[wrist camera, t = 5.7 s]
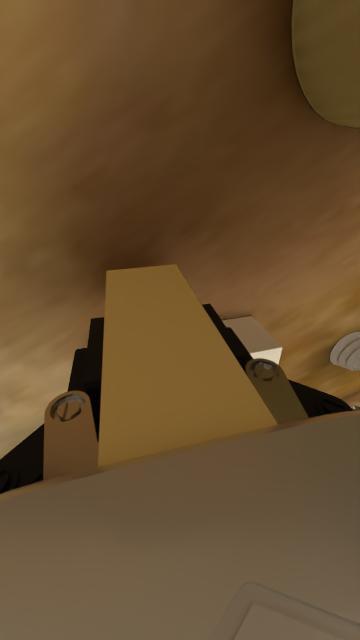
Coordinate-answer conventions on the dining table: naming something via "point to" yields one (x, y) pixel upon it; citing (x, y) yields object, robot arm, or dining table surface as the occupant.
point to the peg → (167, 370)
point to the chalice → (347, 352)
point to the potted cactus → (329, 57)
